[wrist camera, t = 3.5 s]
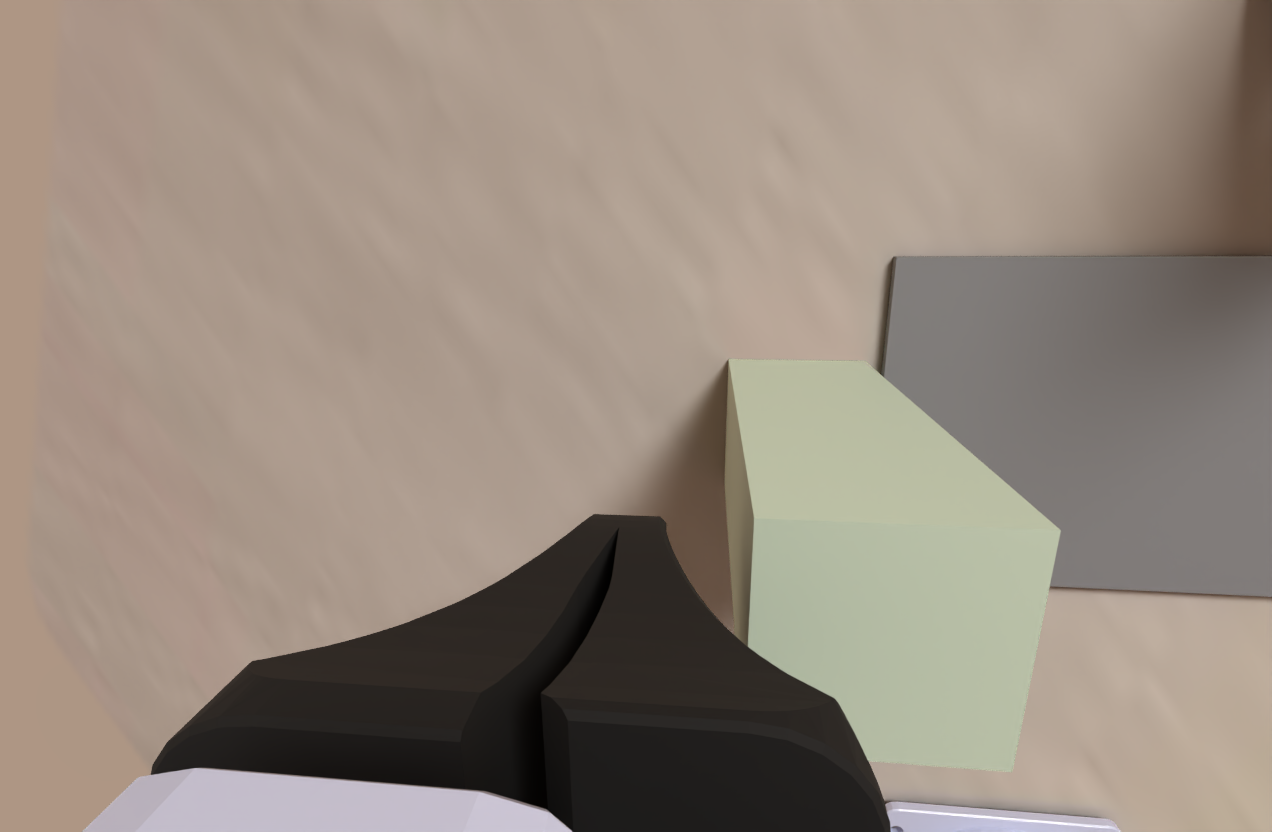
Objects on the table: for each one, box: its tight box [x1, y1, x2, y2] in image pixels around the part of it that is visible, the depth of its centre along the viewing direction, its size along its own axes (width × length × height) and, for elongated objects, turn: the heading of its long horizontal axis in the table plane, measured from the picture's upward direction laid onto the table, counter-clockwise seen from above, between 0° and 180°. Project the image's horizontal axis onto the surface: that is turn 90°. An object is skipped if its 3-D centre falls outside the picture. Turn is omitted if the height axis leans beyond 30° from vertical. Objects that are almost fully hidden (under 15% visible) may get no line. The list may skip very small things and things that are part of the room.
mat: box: [881, 256, 1272, 597], centre depth 19 cm, size 10×14×1 cm
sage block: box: [724, 359, 1061, 772], centre depth 14 cm, size 4×4×11 cm
